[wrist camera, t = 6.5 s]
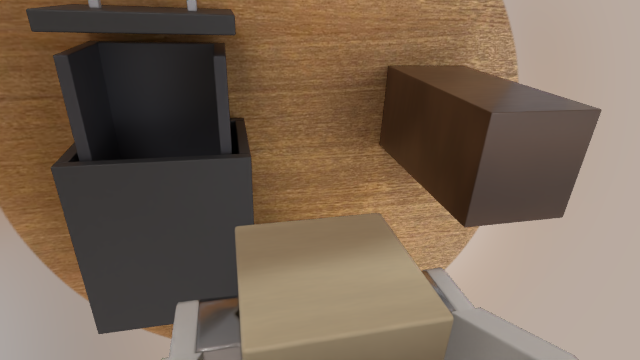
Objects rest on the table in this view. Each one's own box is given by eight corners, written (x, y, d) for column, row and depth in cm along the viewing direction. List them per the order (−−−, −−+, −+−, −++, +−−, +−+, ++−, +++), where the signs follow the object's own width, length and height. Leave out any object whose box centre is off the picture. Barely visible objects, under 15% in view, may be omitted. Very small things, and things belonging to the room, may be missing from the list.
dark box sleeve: (93, 122, 33) (50, 167, 25) (243, 117, 36) (251, 157, 27) (124, 260, 39) (98, 334, 31) (250, 247, 42) (257, 312, 34)
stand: (388, 65, 37) (491, 112, 23) (463, 65, 38) (602, 109, 24) (379, 144, 40) (464, 227, 26) (448, 141, 42) (562, 217, 28)
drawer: (57, -64, 26) (0, -82, 20) (227, -52, 29) (230, -65, 22) (108, 171, 34) (80, 217, 27) (239, 164, 37) (244, 204, 30)
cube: (234, 225, 10) (241, 352, 6) (380, 211, 11) (456, 317, 7) (243, 337, 12) (252, 485, 8) (367, 317, 13) (424, 444, 9)
